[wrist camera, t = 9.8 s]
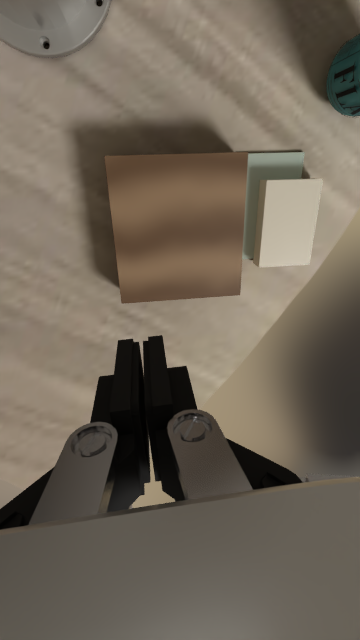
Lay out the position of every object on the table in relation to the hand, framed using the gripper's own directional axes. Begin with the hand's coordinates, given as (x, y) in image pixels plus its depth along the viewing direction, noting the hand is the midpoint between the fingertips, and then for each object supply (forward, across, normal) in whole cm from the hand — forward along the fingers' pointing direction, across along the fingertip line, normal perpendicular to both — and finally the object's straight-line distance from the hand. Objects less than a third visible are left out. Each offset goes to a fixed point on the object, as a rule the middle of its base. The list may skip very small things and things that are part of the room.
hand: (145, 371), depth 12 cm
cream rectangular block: (+23, -16, -1) cm, 28 cm away
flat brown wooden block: (+26, -4, -1) cm, 26 cm away
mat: (+26, -14, -2) cm, 29 cm away
